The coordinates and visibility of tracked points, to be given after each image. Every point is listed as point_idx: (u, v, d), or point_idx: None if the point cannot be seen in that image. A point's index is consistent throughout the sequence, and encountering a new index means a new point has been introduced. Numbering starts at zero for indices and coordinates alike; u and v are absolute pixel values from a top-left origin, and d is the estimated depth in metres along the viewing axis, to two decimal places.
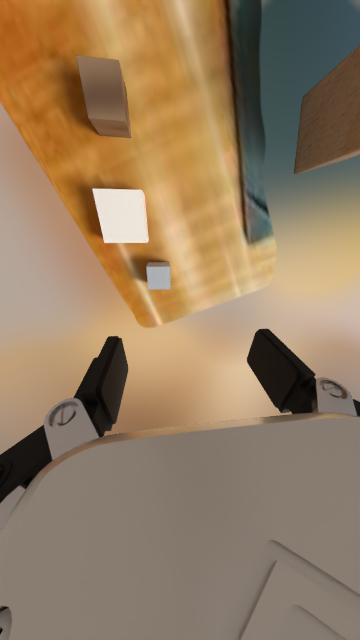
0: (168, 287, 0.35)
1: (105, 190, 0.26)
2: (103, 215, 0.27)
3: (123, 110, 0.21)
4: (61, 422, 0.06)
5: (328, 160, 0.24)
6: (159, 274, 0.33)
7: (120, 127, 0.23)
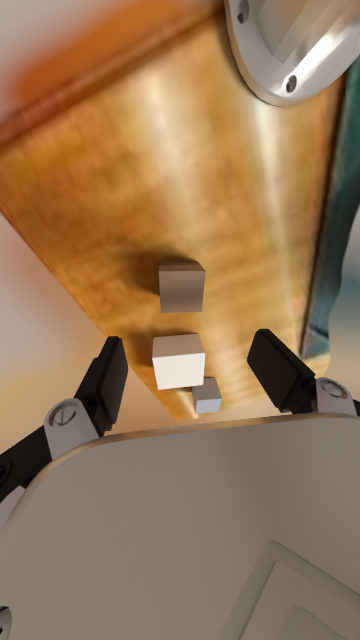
0: (216, 410, 0.33)
1: (166, 357, 0.23)
2: (160, 373, 0.25)
3: (201, 304, 0.19)
4: (61, 422, 0.05)
5: None
6: (209, 404, 0.31)
7: None
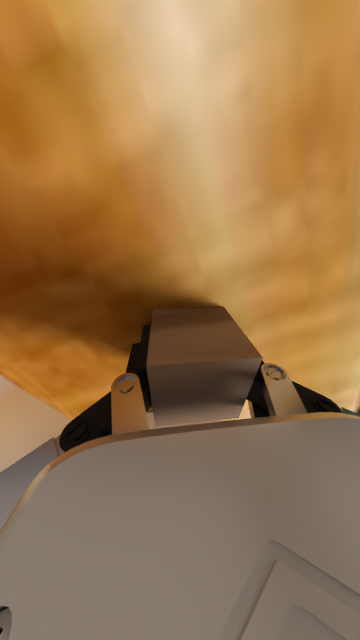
0: None
1: None
2: None
3: None
4: (122, 390, 0.07)
5: None
6: None
7: None
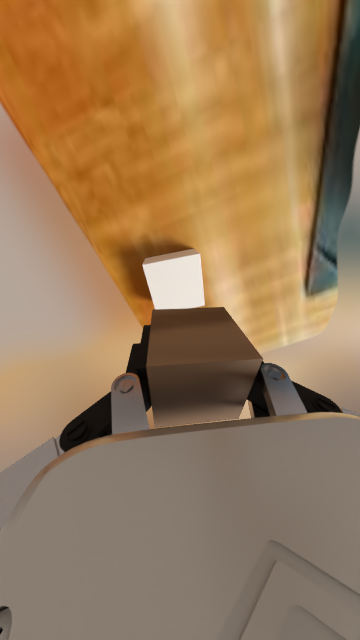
0: None
1: (157, 263, 0.21)
2: (155, 289, 0.23)
3: None
4: (122, 390, 0.07)
5: None
6: None
7: None
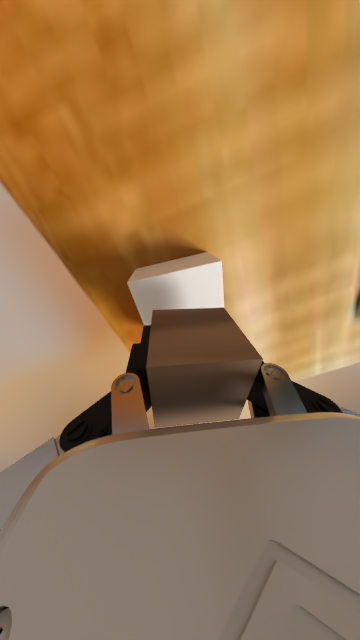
0: None
1: (151, 279, 0.13)
2: (150, 317, 0.15)
3: None
4: (122, 390, 0.07)
5: None
6: None
7: None
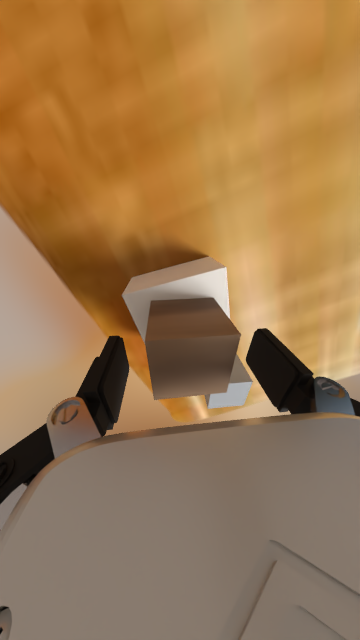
0: (241, 403, 0.21)
1: (149, 290, 0.12)
2: None
3: None
4: (63, 420, 0.06)
5: None
6: (231, 391, 0.19)
7: None
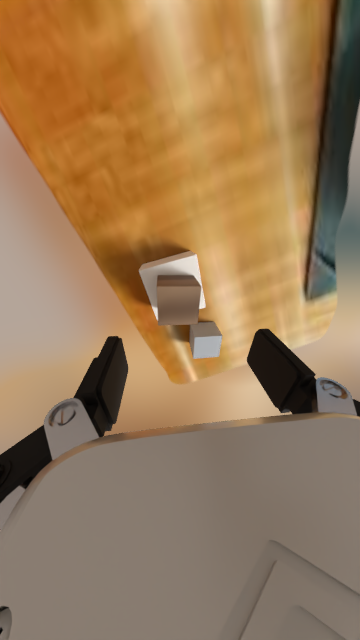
0: (216, 355, 0.30)
1: (153, 268, 0.21)
2: (153, 294, 0.22)
3: (197, 317, 0.19)
4: (61, 422, 0.05)
5: None
6: (208, 343, 0.28)
7: None
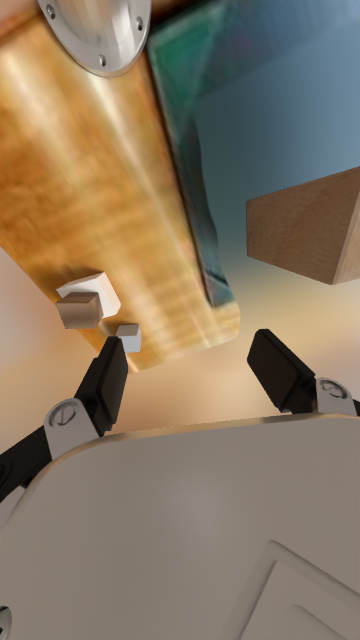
0: (137, 350, 0.38)
1: (66, 287, 0.29)
2: None
3: (93, 323, 0.28)
4: (61, 422, 0.05)
5: (267, 262, 0.27)
6: (127, 341, 0.36)
7: None
